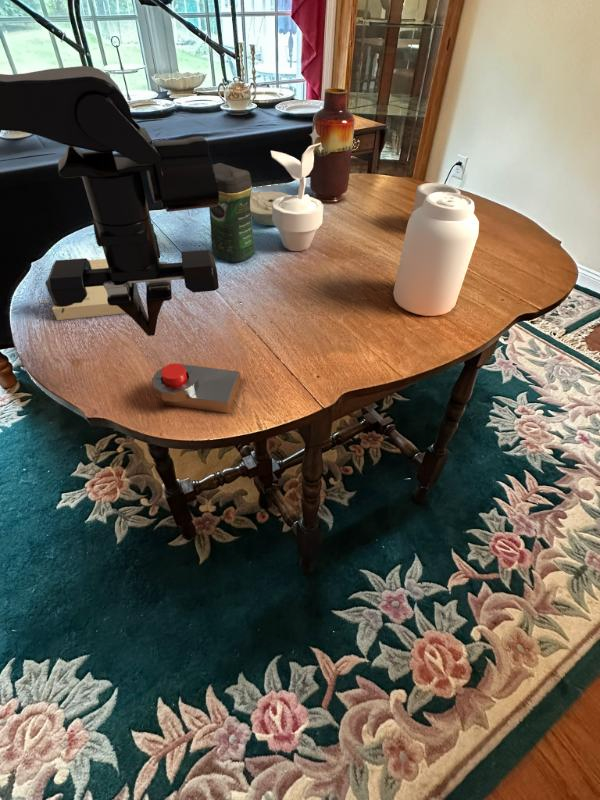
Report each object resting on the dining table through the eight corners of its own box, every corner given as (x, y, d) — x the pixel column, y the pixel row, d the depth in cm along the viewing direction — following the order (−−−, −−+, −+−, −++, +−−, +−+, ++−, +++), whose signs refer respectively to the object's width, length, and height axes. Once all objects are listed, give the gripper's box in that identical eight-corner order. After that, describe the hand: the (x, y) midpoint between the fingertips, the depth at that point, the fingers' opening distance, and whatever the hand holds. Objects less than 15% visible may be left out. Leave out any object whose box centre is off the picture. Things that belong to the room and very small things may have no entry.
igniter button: (159, 386, 62) (157, 377, 61) (168, 371, 64) (166, 361, 63) (182, 389, 62) (180, 380, 60) (190, 373, 64) (188, 364, 63)
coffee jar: (260, 254, 100) (258, 167, 87) (236, 267, 95) (230, 176, 82) (230, 242, 104) (223, 157, 91) (206, 253, 99) (195, 165, 86)
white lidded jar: (446, 324, 82) (481, 218, 68) (384, 306, 86) (404, 202, 72) (460, 294, 90) (493, 194, 76) (402, 279, 94) (424, 181, 80)
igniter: (151, 409, 64) (145, 389, 61) (172, 373, 69) (167, 353, 67) (226, 419, 63) (223, 400, 60) (240, 382, 68) (238, 362, 66)
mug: (442, 242, 108) (453, 200, 101) (402, 231, 112) (410, 190, 105) (458, 224, 116) (470, 184, 109) (420, 214, 120) (429, 176, 113)
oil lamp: (213, 215, 115) (211, 195, 112) (248, 200, 124) (247, 181, 120) (275, 237, 107) (275, 216, 103) (308, 219, 115) (309, 199, 112)
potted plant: (329, 244, 105) (339, 125, 87) (303, 262, 98) (308, 136, 80) (287, 230, 110) (288, 115, 92) (259, 246, 103) (254, 125, 85)
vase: (305, 202, 124) (310, 92, 106) (313, 189, 132) (318, 84, 113) (343, 206, 122) (354, 96, 104) (349, 193, 130) (360, 88, 112)
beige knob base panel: (42, 327, 77) (37, 315, 75) (58, 273, 91) (54, 261, 89) (131, 318, 80) (127, 306, 78) (133, 267, 94) (131, 256, 92)
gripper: (203, 186, 54) (215, 296, 65) (41, 192, 50) (83, 308, 61) (212, 221, 46) (224, 339, 57) (21, 232, 43) (73, 356, 54)
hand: (151, 333), depth 57 cm, fingers closed
